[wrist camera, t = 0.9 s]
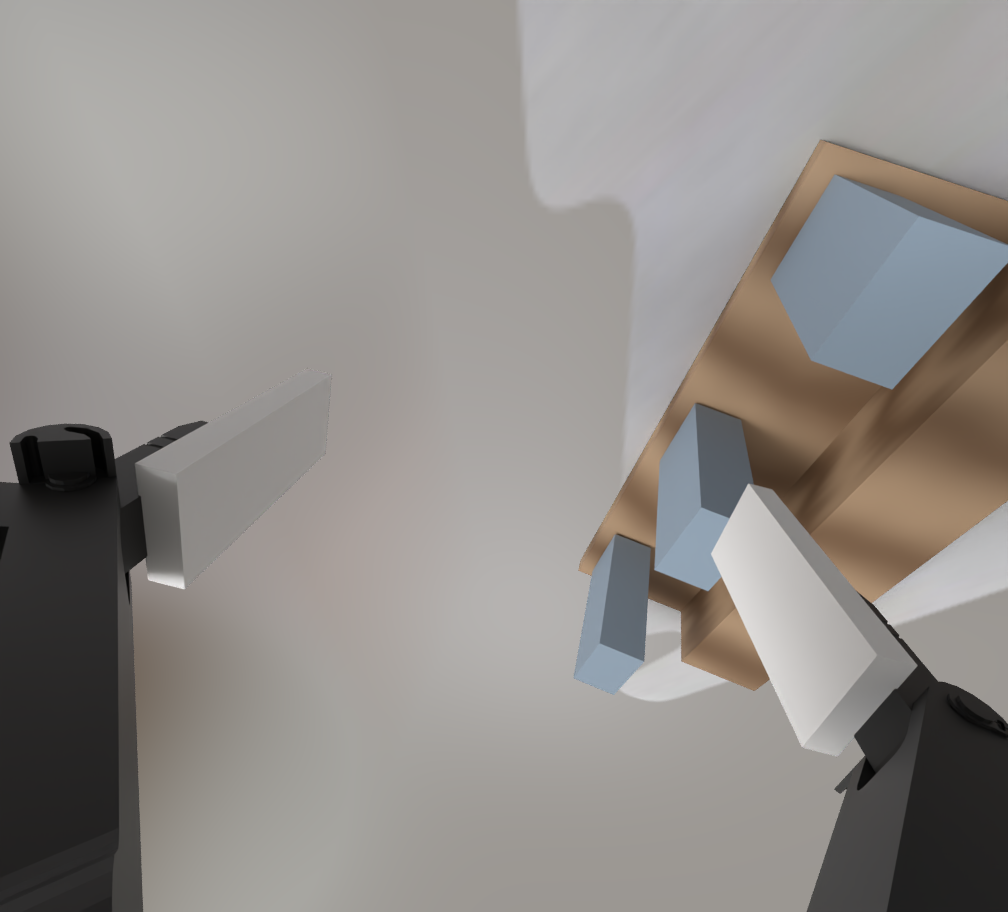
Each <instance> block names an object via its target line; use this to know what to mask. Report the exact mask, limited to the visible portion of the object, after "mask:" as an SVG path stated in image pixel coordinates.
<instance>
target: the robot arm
mask: <svg viewBox="0 0 1008 912" xmlns="http://www.w3.org/2000/svg"><path fill="white" fill-rule="evenodd" d="M331 380H332V374H328V373H324V372H320V371H317V370H312V369H309V368H307V369H305V370H303V371H301V372H299V373H298V374H296V375H294V376H292V377H290V378H289V379H287V380H285V381H283V382H281V383H280V384H278V385H276V386H274V387H272V388H270V389H269V390H267V391H265V392H263V393H261V394H260V395H258V396H256V397H254V398H252V399H251V400H249V401H247V402H245V403H243V404H241V405H240V406H238V407H236V408H234V409H233V410H231V411H229V412H227V413H225V414H223V415H222V416H220V417H218V418H216V419H214V420H213V421H211V422H209V423H208V422H204V421H198V422H194V423H190V424H186V425H182V426H178V427H176V428H174V429H172V430H170V431H168V432H167V433H165V434H163V435H162V436H161V437H157V438H155V439H153V440H151V441H149V442H148V443H147V445H145V444H143V445H141V446H140V447H138V448H136V449H134V450H132V451H130V452H128V453H126V454H124V455H122V456H120V457H118V458H116V459H114V452H113V444H112V438H111V436H110V434H109V433H108V432H107V431H105V430H103V429H101V428H99V427H94V426H89V425H84V424H58V425H48V426H43V427H39V428H34V429H30V430H27V431H25V432H23V433H21V434H19V435H17V436H15V437H14V438H13V440H12V441H11V442H10V447H11V451H12V455H13V460H14V464H15V468H16V471H17V476H18V480H19V483H6V482H0V912H143V900H142V899H143V898H142V872H141V842H140V814H139V786H138V758H137V730H136V702H135V673H134V645H133V617H132V592H131V591H132V589H131V577H130V570H131V569H132V568H133V567H134V566H136V565H137V564H138V563H139V562H141V561H142V560H143V559H144V558H146V565H147V574H148V580H150V581H154V582H158V583H162V584H166V585H170V586H174V587H178V588H182V589H186V588H187V587H188V586H189V585H190V584H191V583H192V582H193V581H194V580H195V579H196V578H197V577H198V576H199V575H200V574H201V573H202V572H203V571H204V570H205V569H206V568H207V567H209V566H210V564H212V563H213V561H215V560H216V559H217V558H218V557H219V556H220V555H221V554H222V553H223V552H224V551H225V550H226V549H227V548H228V547H229V546H230V545H231V544H232V543H233V542H234V541H235V540H237V539H238V538H239V537H240V536H241V535H242V534H243V533H244V532H245V531H246V530H247V529H248V528H249V527H250V526H251V525H252V524H253V523H254V522H255V521H256V520H257V519H258V518H259V517H260V516H261V515H262V514H263V513H265V512H266V511H267V510H268V509H269V508H270V507H271V506H272V505H273V504H274V503H275V502H276V501H277V500H278V499H279V498H280V497H281V496H282V495H283V494H284V493H285V492H286V491H287V490H288V489H289V488H290V487H291V486H293V485H294V484H295V483H296V482H297V481H298V480H299V479H300V478H301V477H302V476H303V475H304V474H305V473H306V472H307V471H308V470H309V469H310V468H311V467H312V466H313V465H314V464H315V463H316V462H318V460H319V459H321V457H323V456H324V455H325V452H326V441H327V429H328V417H329V404H330V391H331ZM711 555H712V557H713V559H714V562H715V564H716V566H717V568H718V570H719V572H720V574H721V576H722V579H723V581H724V583H725V585H726V587H727V589H728V591H729V593H730V595H731V598H732V600H733V602H734V604H735V606H736V608H737V610H738V612H739V615H740V617H741V619H742V621H743V623H744V625H745V627H746V629H747V632H748V634H749V636H750V638H751V640H752V642H753V644H754V646H755V648H756V651H757V653H758V655H759V657H760V659H761V661H762V663H763V665H764V668H765V670H766V672H767V674H768V676H769V678H770V680H771V682H772V685H773V687H774V689H775V690H776V693H777V695H778V697H779V699H780V701H781V704H782V706H783V708H784V710H785V712H786V714H787V716H788V718H789V721H790V723H791V725H792V727H793V729H794V731H795V733H796V735H797V737H798V740H799V742H800V744H801V746H802V747H803V748H806V749H810V750H814V751H818V752H822V753H826V754H830V755H834V756H839V754H840V753H841V752H842V751H843V750H844V749H845V748H846V746H847V745H848V744H849V743H850V742H851V741H852V740H853V739H854V737H855V739H856V740H857V742H858V744H859V745H860V747H861V749H862V751H863V752H864V754H865V756H864V758H863V759H862V760H861V761H860V762H859V763H858V764H857V765H856V766H855V767H854V768H853V769H852V771H851V772H850V773H849V774H848V775H847V776H846V777H845V778H844V779H843V780H842V781H841V782H840V784H839V785H838V786H837V787H836V788H835V790H836V791H837V792H838V793H842V792H843V791H844V790H845V789H847V791H846V794H845V797H844V800H843V803H842V806H841V809H840V813H839V816H838V818H837V821H836V824H835V828H834V831H833V834H832V837H831V840H830V843H829V846H828V849H827V852H826V855H825V858H824V861H823V864H822V868H821V870H820V873H819V876H818V879H817V882H816V885H815V888H814V891H813V894H812V897H811V901H810V903H809V907H808V910H807V912H1008V724H1007V723H1006V721H1005V720H1004V719H1003V718H1002V717H1001V716H1000V715H998V714H997V713H996V712H995V711H994V710H993V709H992V708H991V707H989V706H988V705H987V704H985V703H984V702H982V701H981V700H980V699H978V698H977V697H975V696H974V695H972V694H970V693H969V692H967V691H965V690H963V689H961V688H959V687H957V686H954V685H951V684H948V683H945V682H938V681H937V680H936V679H935V677H934V676H933V675H932V674H931V673H930V671H929V670H928V669H927V668H926V667H925V665H924V664H923V663H922V662H921V661H920V660H919V658H918V657H917V656H916V655H915V654H914V652H913V651H912V650H911V649H910V648H909V646H908V645H907V644H906V643H905V642H904V640H903V639H900V638H899V635H898V633H897V632H896V631H895V630H894V629H893V627H892V626H891V625H889V624H887V622H888V621H887V620H886V619H885V618H884V617H883V615H882V614H881V613H880V612H879V611H878V610H877V608H876V607H875V606H874V605H873V604H872V603H871V602H869V601H868V600H867V599H866V598H865V597H863V596H862V595H861V594H860V593H858V592H857V591H856V590H855V589H854V588H853V587H852V585H851V584H850V583H849V582H848V580H847V579H846V578H845V577H844V576H843V574H842V573H841V572H840V571H839V570H838V568H837V567H836V566H835V565H834V564H833V562H832V561H831V560H830V559H829V557H828V556H827V555H826V554H825V553H824V551H823V550H822V549H821V548H820V547H819V545H818V544H817V543H816V542H815V540H814V539H813V538H812V537H811V536H810V534H809V533H808V532H807V531H806V530H805V528H804V527H803V526H802V525H801V524H800V522H799V521H798V520H797V519H796V517H795V516H794V515H793V514H792V513H791V511H790V510H789V509H788V508H787V507H786V505H785V504H784V503H783V502H782V501H781V499H780V498H779V497H778V496H777V494H776V493H775V492H774V491H773V490H772V489H768V488H764V487H761V486H757V485H753V484H749V483H748V485H747V487H746V489H745V491H744V493H743V494H742V496H741V498H740V500H739V502H738V504H737V506H736V508H735V509H734V511H733V513H732V515H731V517H730V519H729V521H728V523H727V525H726V526H725V528H724V530H723V532H722V534H721V536H720V538H719V540H718V541H717V543H716V545H715V547H714V549H713V551H712V553H711Z"/></svg>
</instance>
